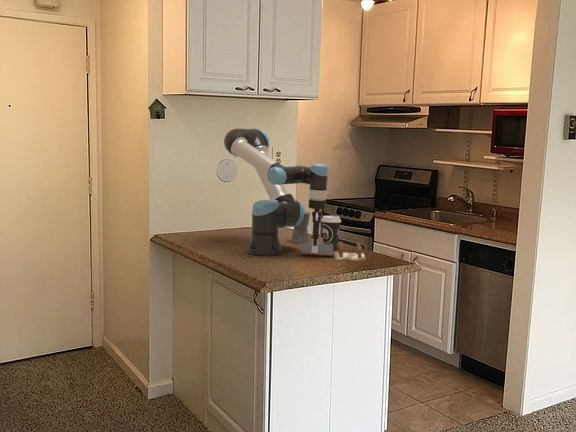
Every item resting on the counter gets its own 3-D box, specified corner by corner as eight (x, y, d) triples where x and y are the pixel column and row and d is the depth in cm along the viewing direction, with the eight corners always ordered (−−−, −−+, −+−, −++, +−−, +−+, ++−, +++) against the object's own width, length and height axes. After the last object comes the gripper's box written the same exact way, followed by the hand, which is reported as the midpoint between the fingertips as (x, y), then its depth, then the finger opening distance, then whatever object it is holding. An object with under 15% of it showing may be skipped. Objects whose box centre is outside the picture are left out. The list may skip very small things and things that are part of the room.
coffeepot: (314, 244, 303) (315, 207, 300) (297, 245, 299) (298, 208, 296) (300, 238, 317) (301, 203, 314) (284, 239, 313) (285, 204, 310)
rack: (335, 259, 268) (335, 245, 267) (334, 254, 279) (334, 241, 278) (365, 260, 268) (366, 246, 267) (363, 255, 279) (364, 242, 278)
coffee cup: (339, 250, 288) (340, 218, 286) (318, 249, 290) (319, 217, 288) (341, 246, 297) (342, 216, 295) (321, 245, 299) (322, 214, 297)
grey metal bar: (301, 253, 272) (301, 243, 272) (301, 251, 277) (302, 241, 276) (332, 254, 272) (333, 244, 271) (332, 252, 276) (333, 242, 276)
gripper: (326, 202, 262) (323, 256, 266) (325, 197, 279) (322, 248, 282) (308, 201, 262) (305, 255, 266) (309, 196, 279) (306, 247, 283)
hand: (314, 251), depth 274 cm, fingers closed on grey metal bar, 4 cm apart
